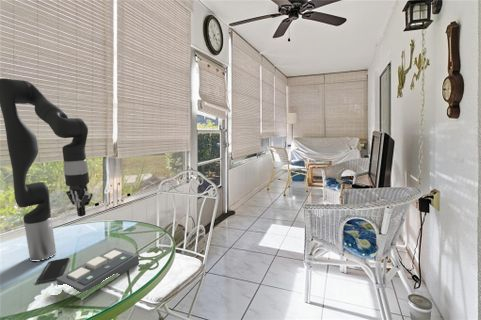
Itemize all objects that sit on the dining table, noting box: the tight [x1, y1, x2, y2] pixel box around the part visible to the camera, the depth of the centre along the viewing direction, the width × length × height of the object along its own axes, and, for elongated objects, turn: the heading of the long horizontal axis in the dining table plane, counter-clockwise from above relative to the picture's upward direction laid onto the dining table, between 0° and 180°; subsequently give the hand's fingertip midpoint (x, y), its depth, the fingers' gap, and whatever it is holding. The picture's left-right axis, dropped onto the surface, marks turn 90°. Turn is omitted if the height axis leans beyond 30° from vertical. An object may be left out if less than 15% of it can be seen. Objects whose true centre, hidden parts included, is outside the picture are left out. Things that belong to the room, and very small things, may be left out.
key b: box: [85, 255, 107, 270], centre depth 100 cm, size 5×5×2 cm
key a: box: [68, 267, 90, 281], centre depth 93 cm, size 5×5×2 cm
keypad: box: [56, 247, 140, 292], centre depth 99 cm, size 14×24×4 cm, turn 154°
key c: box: [103, 250, 122, 261], centre depth 106 cm, size 5×5×2 cm
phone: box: [36, 257, 71, 284], centre depth 103 cm, size 8×1×15 cm
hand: (81, 215), depth 99 cm, fingers closed
